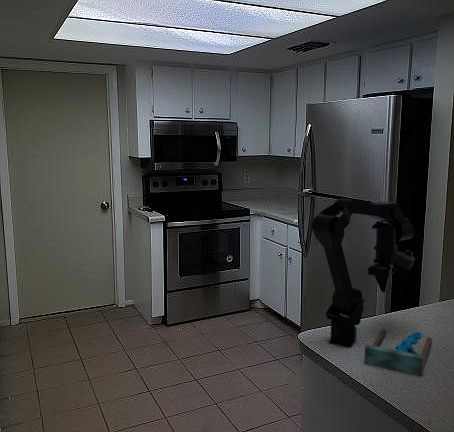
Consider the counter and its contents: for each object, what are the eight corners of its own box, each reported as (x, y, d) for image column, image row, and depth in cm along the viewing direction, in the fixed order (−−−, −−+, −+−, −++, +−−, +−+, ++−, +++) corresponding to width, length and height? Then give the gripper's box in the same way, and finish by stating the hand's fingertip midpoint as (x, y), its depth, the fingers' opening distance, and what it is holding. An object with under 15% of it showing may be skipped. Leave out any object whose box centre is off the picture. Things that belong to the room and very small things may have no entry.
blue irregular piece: (394, 341, 131) (421, 324, 125) (410, 358, 129) (438, 341, 124) (383, 361, 122) (412, 343, 116) (400, 379, 121) (429, 362, 115)
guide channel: (364, 363, 121) (364, 347, 120) (381, 335, 139) (382, 321, 139) (421, 375, 114) (422, 358, 113) (431, 344, 132) (432, 329, 132)
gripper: (408, 251, 129) (405, 304, 131) (418, 239, 145) (415, 287, 147) (368, 247, 134) (366, 298, 136) (381, 236, 150) (379, 283, 152)
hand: (383, 291), depth 143 cm, fingers closed
